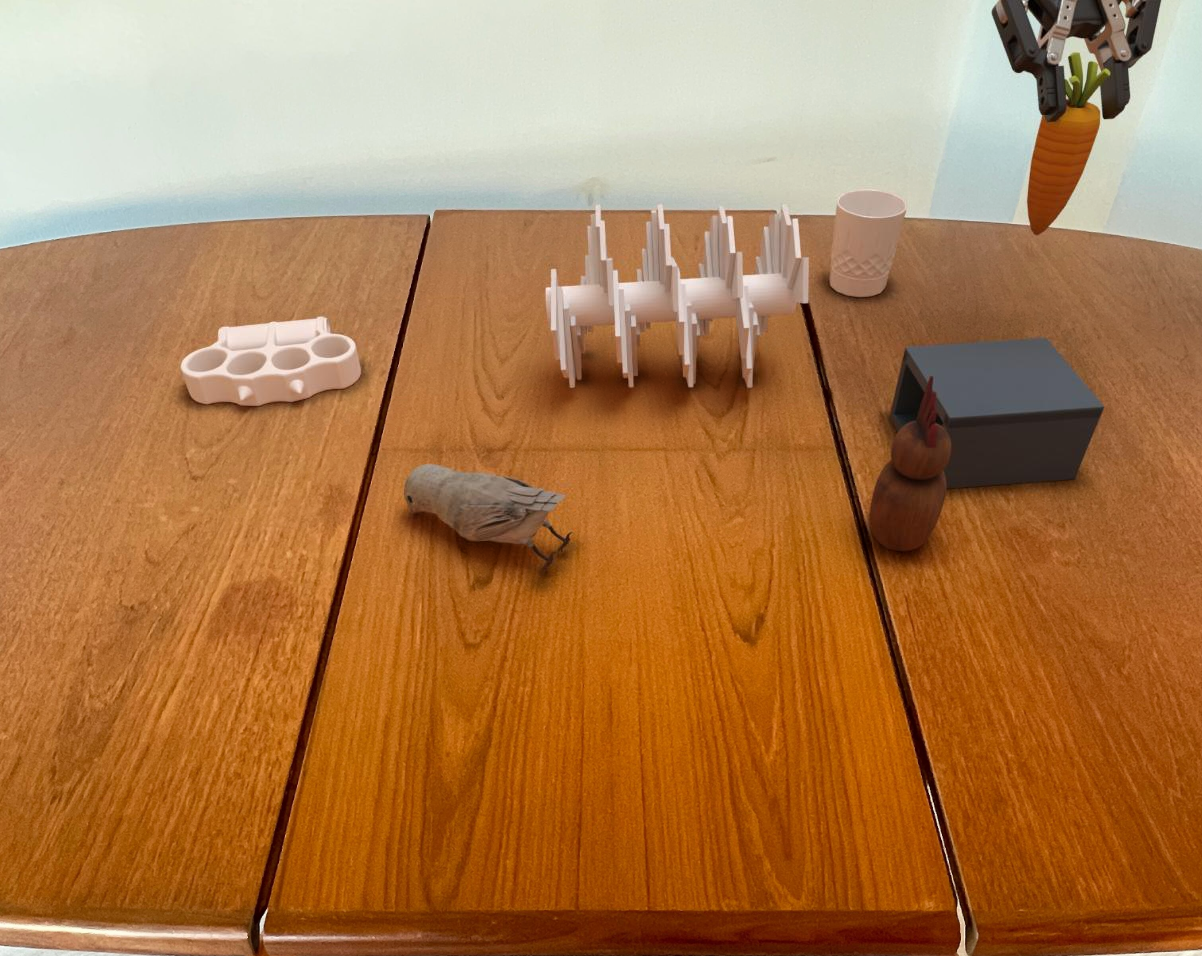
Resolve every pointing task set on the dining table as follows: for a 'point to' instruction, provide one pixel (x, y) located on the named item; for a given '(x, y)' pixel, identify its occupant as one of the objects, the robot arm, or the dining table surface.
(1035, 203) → the carrot
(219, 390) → the white brass knuckles
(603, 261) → the spiral staircase
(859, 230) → the white cup
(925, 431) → the wooden figurine
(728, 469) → the dining table surface
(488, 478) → the decorative bird
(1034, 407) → the shelf
